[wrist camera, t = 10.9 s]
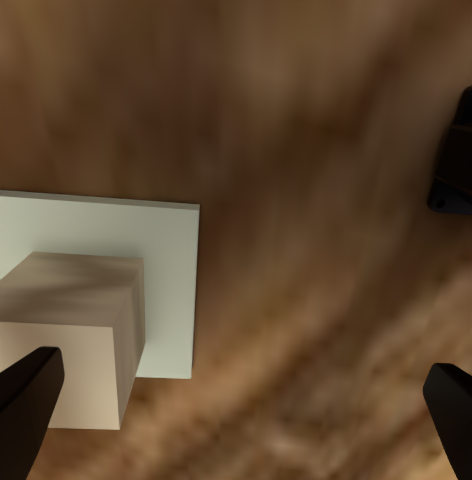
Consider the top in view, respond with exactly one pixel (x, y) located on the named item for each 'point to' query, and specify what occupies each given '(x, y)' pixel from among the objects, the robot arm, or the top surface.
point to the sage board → (119, 245)
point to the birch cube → (78, 329)
